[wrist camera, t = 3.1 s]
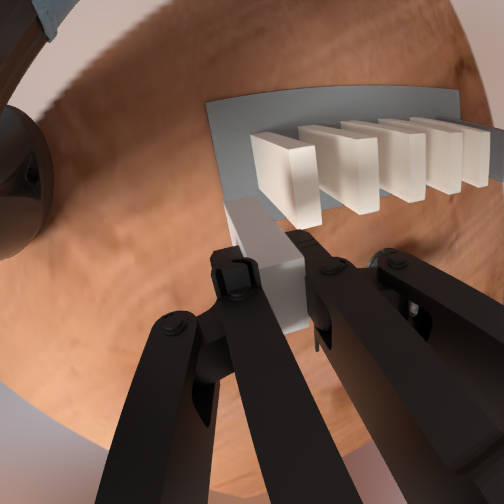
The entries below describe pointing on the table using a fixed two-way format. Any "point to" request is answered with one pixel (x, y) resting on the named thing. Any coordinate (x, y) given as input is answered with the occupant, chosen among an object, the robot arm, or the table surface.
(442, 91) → the mat
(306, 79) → the table surface
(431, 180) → the tile
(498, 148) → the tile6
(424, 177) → the tile
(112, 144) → the table surface
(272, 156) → the tile
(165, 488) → the robot arm
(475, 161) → the tile
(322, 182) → the tile
